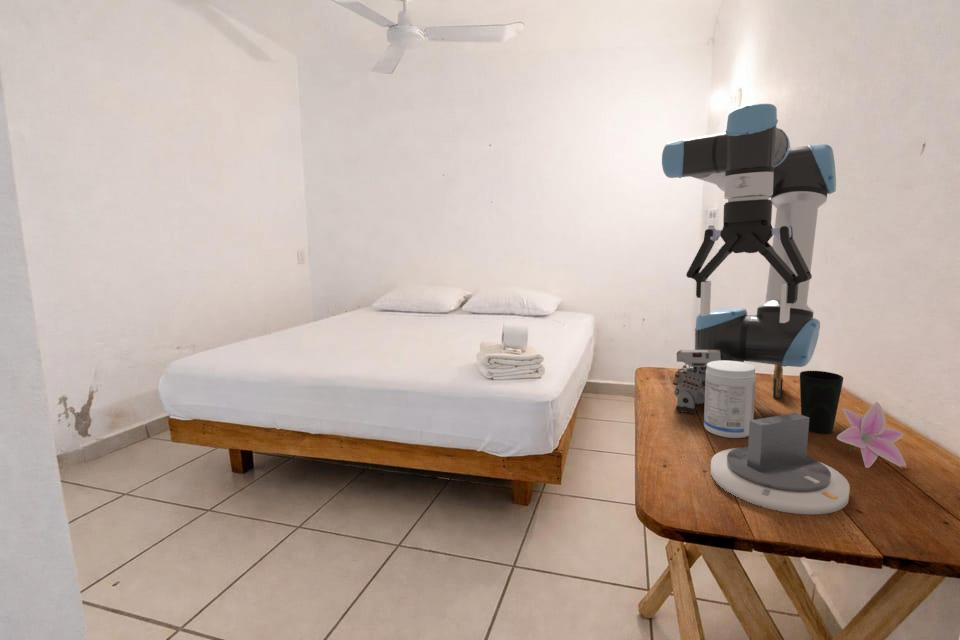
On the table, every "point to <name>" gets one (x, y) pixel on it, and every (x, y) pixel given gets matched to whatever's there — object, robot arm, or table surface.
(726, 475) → the dial base
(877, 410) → the lily
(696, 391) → the figurine
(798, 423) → the dial
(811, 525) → the table surface
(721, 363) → the supplement tub
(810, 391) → the cup
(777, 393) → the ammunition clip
